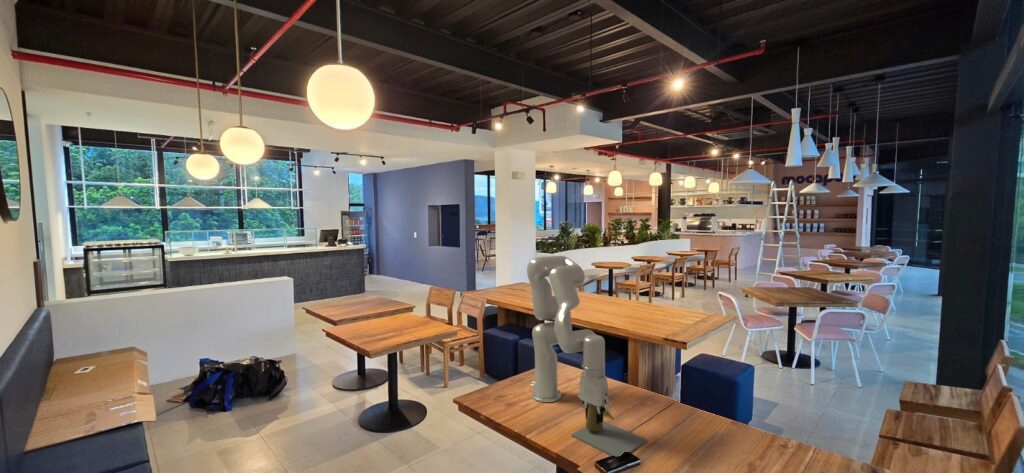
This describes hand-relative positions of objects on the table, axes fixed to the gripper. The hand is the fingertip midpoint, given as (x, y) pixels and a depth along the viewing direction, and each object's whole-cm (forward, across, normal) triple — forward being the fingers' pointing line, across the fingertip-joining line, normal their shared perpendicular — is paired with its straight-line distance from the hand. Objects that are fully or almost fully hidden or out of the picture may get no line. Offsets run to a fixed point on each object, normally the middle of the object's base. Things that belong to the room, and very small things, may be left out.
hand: (594, 420), depth 151 cm
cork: (+2, 0, 0) cm, 2 cm away
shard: (+5, -8, +15) cm, 18 cm away
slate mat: (+4, +6, 0) cm, 7 cm away
